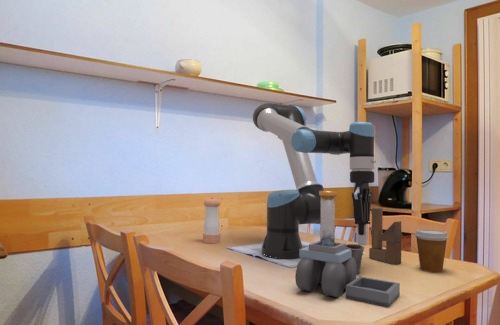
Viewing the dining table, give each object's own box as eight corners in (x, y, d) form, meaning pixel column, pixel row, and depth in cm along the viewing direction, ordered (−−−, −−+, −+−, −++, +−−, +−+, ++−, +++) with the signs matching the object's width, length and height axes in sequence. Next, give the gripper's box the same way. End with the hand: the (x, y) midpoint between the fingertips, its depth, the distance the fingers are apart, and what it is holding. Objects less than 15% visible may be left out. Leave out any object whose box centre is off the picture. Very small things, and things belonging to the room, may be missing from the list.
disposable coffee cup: (450, 269, 118) (450, 231, 118) (446, 275, 110) (446, 235, 110) (417, 264, 123) (417, 228, 124) (411, 270, 115) (412, 231, 116)
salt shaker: (199, 241, 159) (200, 196, 159) (213, 239, 164) (213, 196, 164) (209, 244, 153) (210, 197, 154) (223, 242, 158) (224, 197, 159)
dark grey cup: (332, 277, 107) (333, 249, 107) (348, 268, 117) (348, 243, 118) (353, 281, 103) (354, 252, 104) (367, 271, 114) (367, 245, 114)
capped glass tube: (315, 250, 96) (316, 191, 96) (322, 247, 100) (323, 190, 100) (332, 252, 93) (332, 191, 94) (338, 249, 97) (339, 191, 97)
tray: (345, 298, 89) (345, 285, 89) (359, 287, 97) (359, 276, 97) (388, 307, 83) (388, 293, 84) (399, 295, 92) (399, 283, 92)
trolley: (291, 292, 93) (292, 246, 93) (318, 277, 106) (319, 237, 106) (333, 301, 87) (333, 251, 87) (356, 284, 100) (356, 241, 100)
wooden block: (394, 265, 122) (394, 210, 123) (368, 258, 131) (369, 207, 132) (401, 263, 124) (401, 209, 125) (375, 257, 133) (376, 206, 134)
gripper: (367, 170, 112) (368, 249, 111) (379, 170, 122) (380, 243, 121) (343, 170, 116) (343, 246, 115) (357, 171, 127) (357, 240, 125)
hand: (362, 244), depth 118 cm, fingers closed
